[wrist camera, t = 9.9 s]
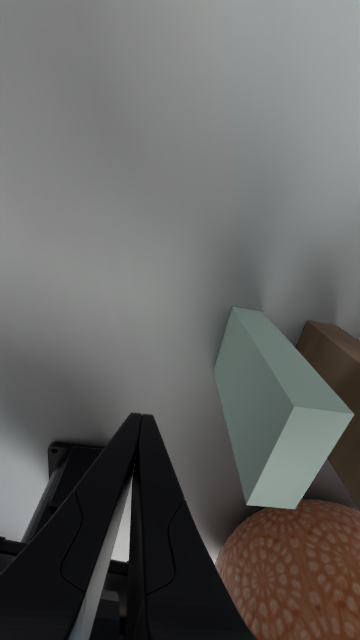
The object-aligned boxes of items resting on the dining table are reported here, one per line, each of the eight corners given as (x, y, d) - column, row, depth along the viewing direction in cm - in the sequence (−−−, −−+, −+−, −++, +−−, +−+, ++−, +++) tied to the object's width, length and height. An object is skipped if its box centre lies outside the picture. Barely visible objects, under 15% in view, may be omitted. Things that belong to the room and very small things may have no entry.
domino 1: (263, 311, 15) (354, 414, 8) (240, 375, 17) (295, 509, 10) (232, 306, 15) (294, 406, 7) (213, 372, 17) (246, 504, 9)
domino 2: (335, 325, 16) (490, 434, 8) (306, 386, 18) (408, 520, 10) (307, 320, 16) (438, 427, 8) (280, 382, 18) (364, 516, 10)
